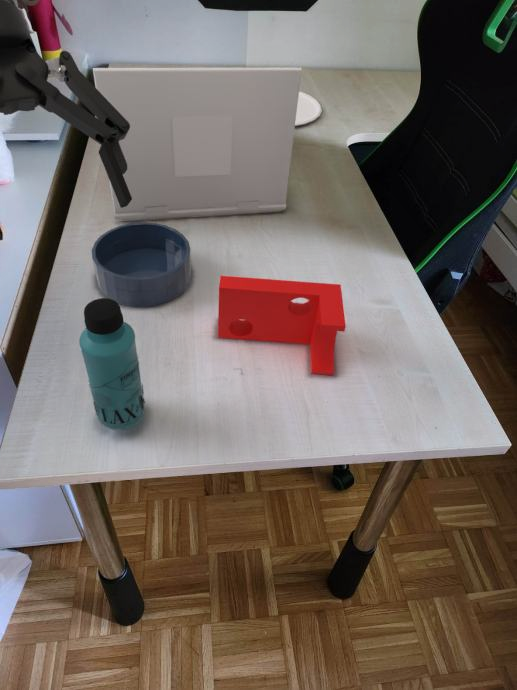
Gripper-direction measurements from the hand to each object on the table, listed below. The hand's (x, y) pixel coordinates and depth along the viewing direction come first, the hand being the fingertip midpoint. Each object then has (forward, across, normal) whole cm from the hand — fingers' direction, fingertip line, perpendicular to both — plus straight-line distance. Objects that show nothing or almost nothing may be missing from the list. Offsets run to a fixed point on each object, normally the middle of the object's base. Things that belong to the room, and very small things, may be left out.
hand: (66, 220), depth 54 cm
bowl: (+6, -16, -33) cm, 37 cm away
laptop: (-11, -39, -50) cm, 64 cm away
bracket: (+24, -25, -15) cm, 38 cm away
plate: (-31, -80, -71) cm, 111 cm away
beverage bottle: (+24, 0, -15) cm, 28 cm away
